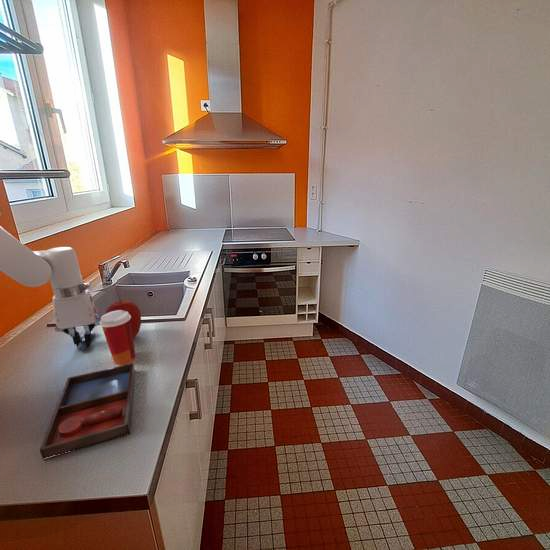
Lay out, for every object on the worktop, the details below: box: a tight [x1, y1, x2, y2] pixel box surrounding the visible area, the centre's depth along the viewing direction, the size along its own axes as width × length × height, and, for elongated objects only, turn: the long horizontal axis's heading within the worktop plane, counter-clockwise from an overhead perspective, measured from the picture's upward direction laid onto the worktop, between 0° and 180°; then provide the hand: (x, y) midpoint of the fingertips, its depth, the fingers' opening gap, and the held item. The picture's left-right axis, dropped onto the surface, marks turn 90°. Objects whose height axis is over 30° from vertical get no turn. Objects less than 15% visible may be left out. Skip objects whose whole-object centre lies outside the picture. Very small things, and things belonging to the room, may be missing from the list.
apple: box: [105, 299, 142, 339], centre depth 94 cm, size 10×10×14 cm
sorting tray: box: [39, 362, 136, 459], centre depth 68 cm, size 15×22×3 cm
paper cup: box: [99, 310, 136, 366], centre depth 84 cm, size 8×8×14 cm
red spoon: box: [58, 407, 123, 437], centre depth 64 cm, size 12×4×2 cm, turn 111°
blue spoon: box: [76, 329, 96, 352], centre depth 94 cm, size 12×4×2 cm, turn 21°
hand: (84, 344), depth 93 cm, fingers closed on blue spoon, 2 cm apart
